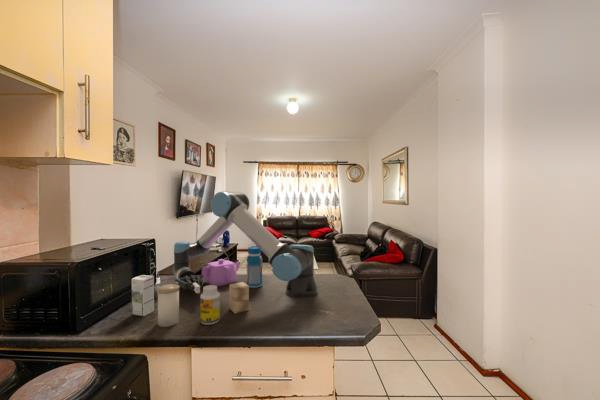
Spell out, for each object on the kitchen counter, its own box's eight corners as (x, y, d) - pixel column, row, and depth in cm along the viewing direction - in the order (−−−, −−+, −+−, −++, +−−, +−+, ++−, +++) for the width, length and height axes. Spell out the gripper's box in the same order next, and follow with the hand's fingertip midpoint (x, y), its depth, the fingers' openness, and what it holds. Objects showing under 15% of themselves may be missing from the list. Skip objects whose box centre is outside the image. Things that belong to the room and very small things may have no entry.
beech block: (243, 305, 118) (243, 281, 118) (248, 310, 113) (248, 285, 113) (229, 308, 114) (229, 284, 114) (234, 313, 109) (234, 288, 109)
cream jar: (183, 319, 104) (183, 284, 104) (170, 328, 97) (170, 291, 97) (166, 317, 106) (166, 283, 106) (152, 325, 99) (152, 289, 99)
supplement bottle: (196, 322, 101) (196, 287, 101) (211, 315, 107) (211, 282, 107) (208, 327, 98) (208, 291, 97) (223, 320, 103) (223, 286, 103)
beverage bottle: (251, 289, 138) (251, 249, 137) (243, 285, 144) (243, 247, 144) (265, 285, 143) (265, 247, 143) (256, 281, 150) (257, 245, 149)
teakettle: (199, 286, 141) (199, 262, 141) (211, 277, 158) (211, 255, 158) (231, 287, 140) (232, 263, 140) (241, 277, 157) (241, 256, 157)
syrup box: (154, 311, 111) (154, 275, 111) (142, 317, 106) (142, 279, 106) (143, 309, 113) (143, 274, 113) (131, 315, 107) (130, 278, 107)
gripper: (199, 281, 141) (213, 295, 121) (171, 286, 133) (181, 301, 114) (199, 266, 140) (213, 278, 121) (171, 270, 133) (181, 283, 114)
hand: (198, 289), depth 117 cm, fingers closed
